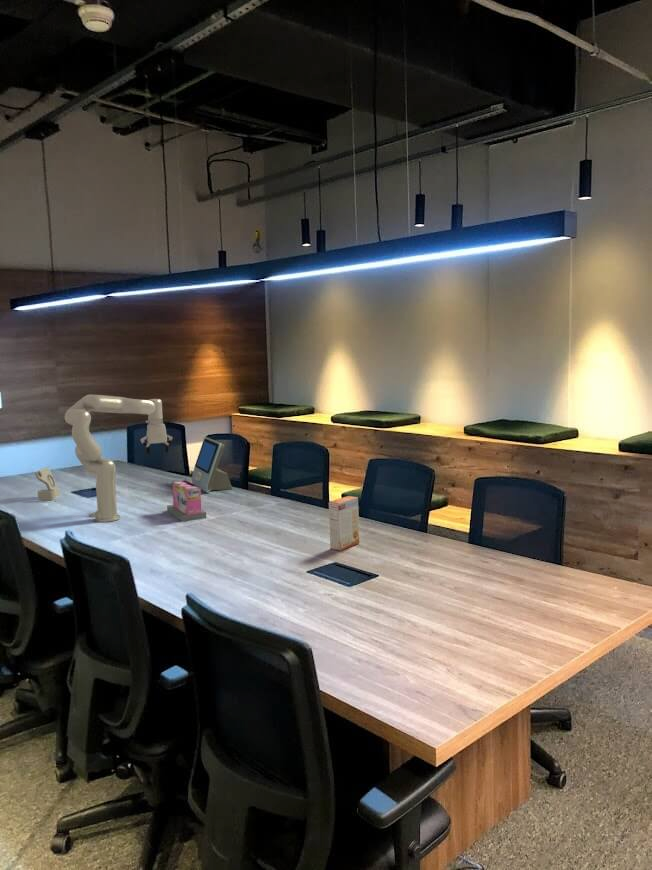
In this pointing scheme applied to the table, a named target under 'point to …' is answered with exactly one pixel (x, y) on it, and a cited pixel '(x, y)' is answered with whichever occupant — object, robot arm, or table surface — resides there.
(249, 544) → the table surface
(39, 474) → the phone holder
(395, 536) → the table surface
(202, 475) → the touchscreen device
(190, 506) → the gum box
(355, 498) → the cracker box
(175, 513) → the base plinth
